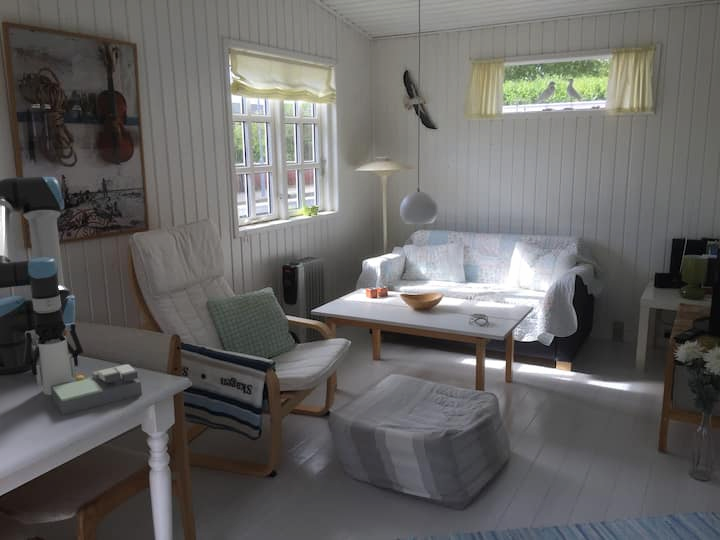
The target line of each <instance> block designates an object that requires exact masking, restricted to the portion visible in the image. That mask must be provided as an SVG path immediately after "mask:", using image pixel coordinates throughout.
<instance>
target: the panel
mask: <svg viewBox="0 0 720 540" xmlns="http://www.w3.org/2000/svg"><path fill="white" fill-rule="evenodd" d="M109 368H110V367H108V368H104V369H103V368H102V370H105V369H109ZM111 368H113V369H114V370H116V371H117V372H119V373H120V378H121V380H117V381H112V382H108V383H106V382H105V381H103V380H102V379H100V378H99V374H98V371H100V370H101V369H98V370H94V371H92V372H91V373H92V375H90V376H87V377H85V376H84V375H81V374H80V375H76V377H75V378H74V379H73V380H72V381H69V382H64V383H60V384H56V385H52V386H50V387H51V394H52V395H51V399H52V400H53V402H54V403H55V404H56V406H57V408H58V409H59V410H60V411H61V413H62V414H63V415H67V414H71V413H76V412H79V411H83V410H87V409H90V408H95V407H99V406H102V405H106V404H109V403H114V402H118V401H121V400H125V399H129V398H133V397H136V396H140V395H142V394H143V391H142V384H141V383H142V382H141V381H140V379H139V378H138V371H137V370H136V369H135V368H133V367H132V365H130V364H127V363H126V364H121V365H117V366H113V367H111Z"/></svg>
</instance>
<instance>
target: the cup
mask: <svg viewBox="0 0 720 540" xmlns="http://www.w3.org/2000/svg"><path fill="white" fill-rule="evenodd" d="M63 336H64V338H65V340H64V341H61V340H60V339H59V338H58V339H56V340H53V339H52V340H50V341H46V342H45V344H39V343H38V340H37V341H36V345H37V347H39V352H40V356H39V368H40V375H41V382H42V385H41V386H42V387H41V388H42V392H43V394H44V395H47V396H48V395H50V396H52V394H51V387H50V386H52V385H56V384H60V383H64V382H69V381H73V380H72V378H73V377H72V376H71V369H70V361H69V356H70V355H69V353H70V352H69V350H68V346H67V342H68V339H67V337H66V336H65V335H63Z"/></svg>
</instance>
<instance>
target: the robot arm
mask: <svg viewBox="0 0 720 540" xmlns="http://www.w3.org/2000/svg"><path fill="white" fill-rule="evenodd" d="M64 209H65V203H64V200H63V196H62V192H61V188H60V185H59V182H58V180H57V178H56V177H54V176H43V175H41V176H32V177H31V176H30V177H28V176H27V177H9V178H8V177H7V178H3V179H0V289H5V288H15V287H24V286H30V291H31V299H28V300H26V298H25V296H24V295H13V296H8V297H3V298H1V299H0V375H13V374H18V373H21V372H22V373H23V372H25V371H28V370H31V374H32V376H35V378H36V383H37V385H38V386H39V387H41V386H42V379H41V372H40V365H39V356H40V352H39V347H37V344H36V346H35V347H34V345H33V338H35V335H37V336H39V337H38V340H37V341H38V343H39V344H45V342H46V341H50V340H52V339H53V340H56V339H58V338H59V339H60V340H61V341H64V340H65V338H64V336H65V335H63V332H64V331H69V334H70V337H71V338H72V342H73V344H74V346H75V350H74V348H73V346H71V344H70V343H69V341H67V346H68V353H70V355H69V362H70V370H71V378H73V379H76V378H75V377H76V376H77V375H76V367H77V366H78V365H79V362H78V361H79V360H78V356H79V355H80V354H83V353H84V349H83V347H82V344H81V343H80V339H79V337H78V335H77V332H76V324H75V313H76V312H75V310H76V296H75V295H74V294H71V293H70V289H68V288H67V287H66V285H65V280H64V275H63V265H62V257H61V256H62V255H61V249H60V248H61V246H60V238H59V231H58V230H59V229H58V221H57V219H59V217H60V216H61V211H63V210H64ZM18 212H19V213H20V212H21V213H22V215H23V217H24V219H26V220H27V221H28V223H29V226H28V227H29V232H30V242H31V252H32V259H29V260H22V261H12V238H11V230H12V229H11V217H13V215H14V213H18Z"/></svg>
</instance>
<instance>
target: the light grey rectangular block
mask: <svg viewBox="0 0 720 540" xmlns="http://www.w3.org/2000/svg"><path fill="white" fill-rule="evenodd" d="M108 368H109V369H107V368H104V369H105V370H103V369H99V370H100V371H99V370H97V371H98V374H99V378H100V379H102V380H103V381H105V382H106V383H108V382H112V381H117V380H121V378H120V373H119V372H117V371H116V370H114V369H113V368H112V367H108Z"/></svg>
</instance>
